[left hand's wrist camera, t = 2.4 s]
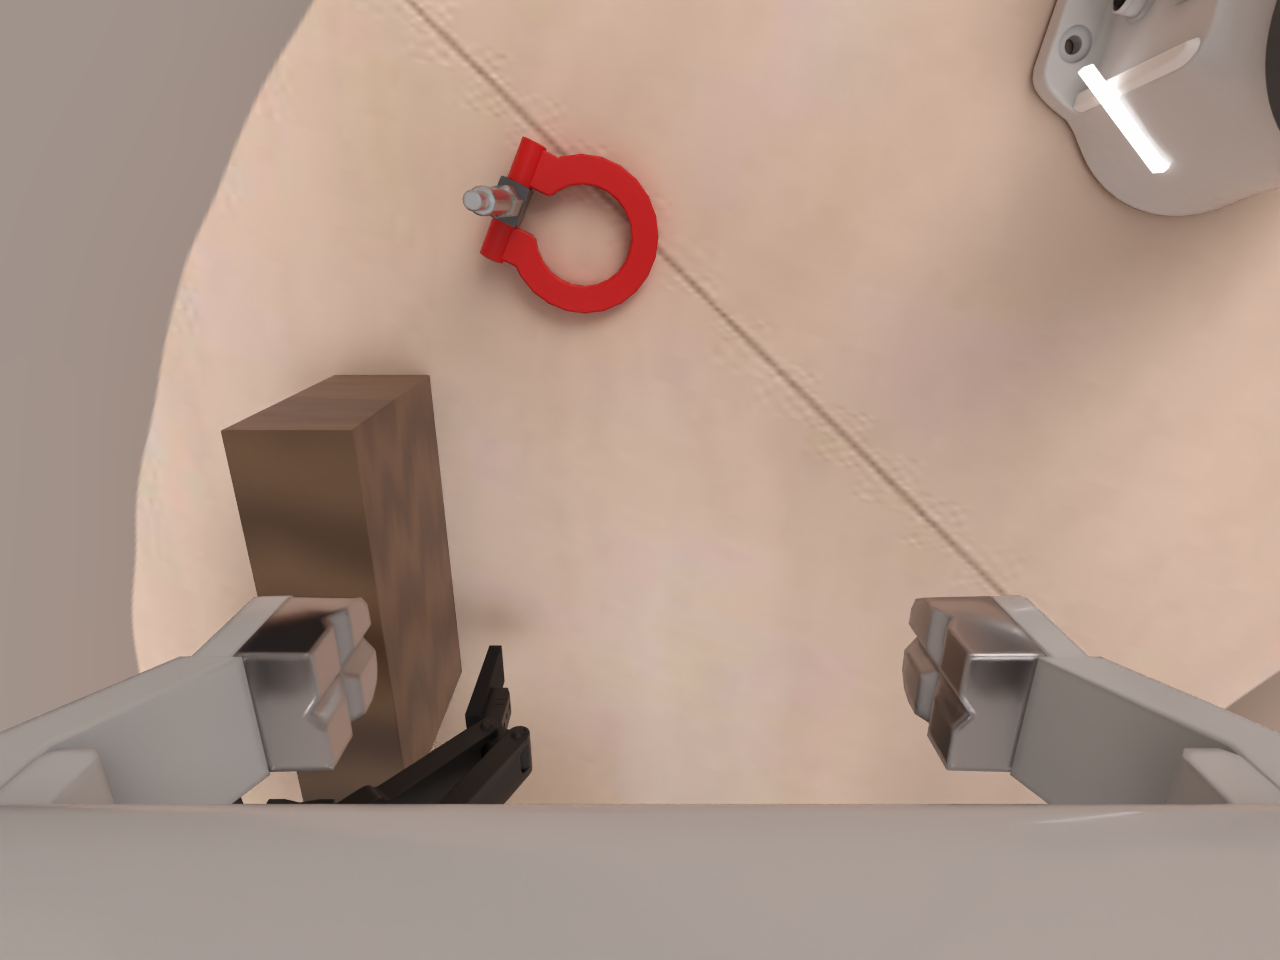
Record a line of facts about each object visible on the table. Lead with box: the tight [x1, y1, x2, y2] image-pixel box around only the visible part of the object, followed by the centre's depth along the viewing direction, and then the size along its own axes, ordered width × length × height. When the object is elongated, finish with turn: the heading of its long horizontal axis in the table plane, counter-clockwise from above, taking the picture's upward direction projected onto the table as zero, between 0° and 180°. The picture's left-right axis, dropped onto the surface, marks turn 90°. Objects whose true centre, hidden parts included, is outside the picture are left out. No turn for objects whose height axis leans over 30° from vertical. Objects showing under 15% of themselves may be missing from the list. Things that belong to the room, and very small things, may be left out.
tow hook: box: [463, 137, 658, 313], centre depth 33 cm, size 8×13×9 cm
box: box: [221, 375, 462, 803], centre depth 40 cm, size 22×6×12 cm, turn 0°
